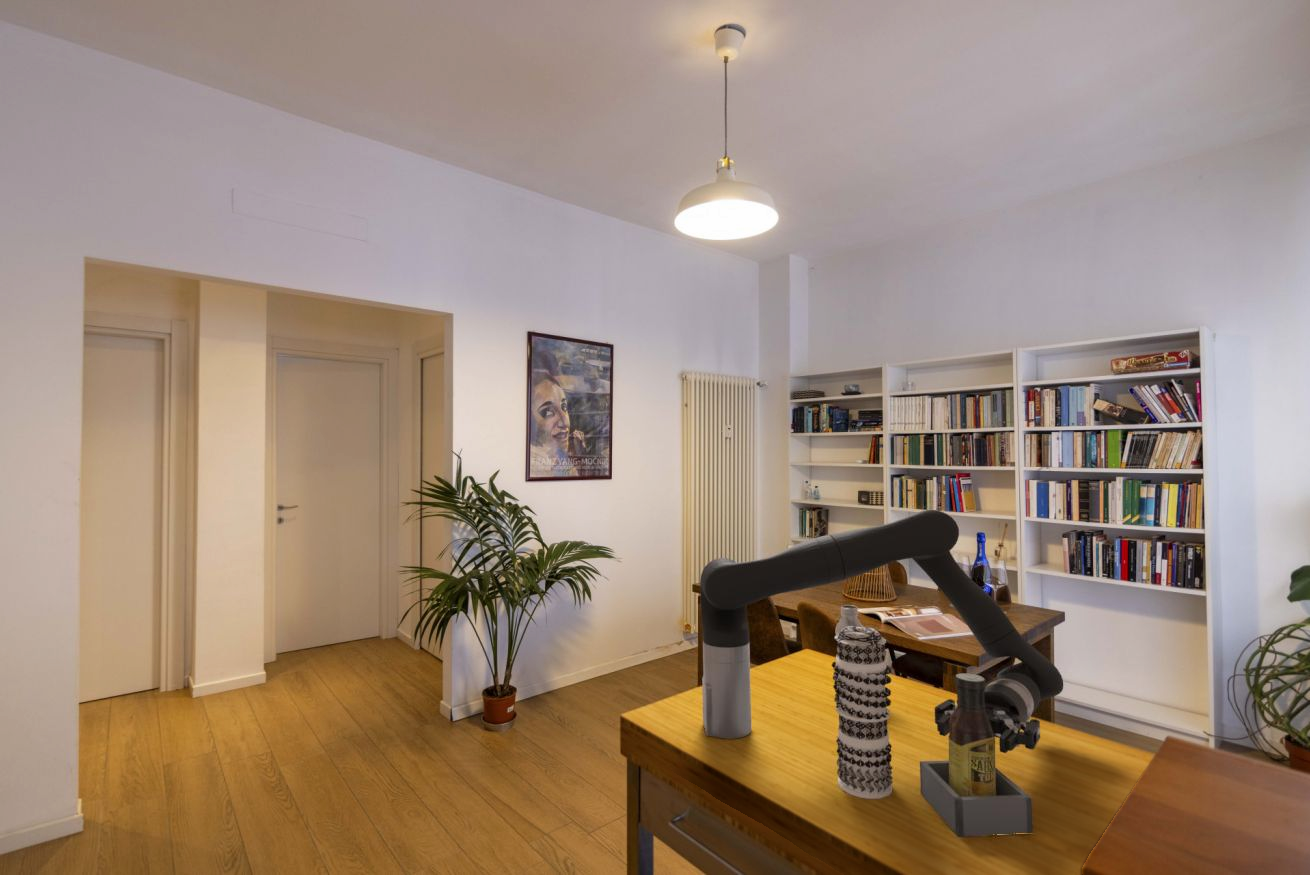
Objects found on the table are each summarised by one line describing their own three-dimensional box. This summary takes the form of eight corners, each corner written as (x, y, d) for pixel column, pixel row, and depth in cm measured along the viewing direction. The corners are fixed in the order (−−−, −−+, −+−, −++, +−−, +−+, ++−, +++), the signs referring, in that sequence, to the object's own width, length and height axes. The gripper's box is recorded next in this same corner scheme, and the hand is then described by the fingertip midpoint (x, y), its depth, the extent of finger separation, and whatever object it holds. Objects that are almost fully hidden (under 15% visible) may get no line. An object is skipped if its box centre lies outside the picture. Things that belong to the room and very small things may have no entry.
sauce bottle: (978, 829, 90) (973, 687, 90) (940, 808, 95) (935, 674, 96) (1007, 817, 93) (1002, 679, 94) (969, 797, 98) (964, 668, 99)
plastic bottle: (867, 693, 143) (864, 604, 144) (867, 704, 136) (864, 611, 137) (837, 690, 145) (835, 602, 146) (836, 701, 139) (833, 609, 140)
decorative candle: (888, 806, 96) (883, 640, 97) (828, 790, 101) (823, 632, 102) (900, 780, 104) (895, 626, 105) (844, 767, 109) (839, 620, 110)
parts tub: (958, 837, 88) (957, 800, 88) (920, 793, 100) (919, 761, 100) (1033, 834, 88) (1031, 797, 88) (986, 791, 100) (985, 759, 100)
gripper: (958, 674, 111) (922, 700, 100) (1051, 694, 101) (1023, 724, 90) (959, 718, 111) (923, 748, 99) (1053, 741, 101) (1025, 778, 89)
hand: (971, 737), depth 95 cm, fingers open, 8 cm apart
